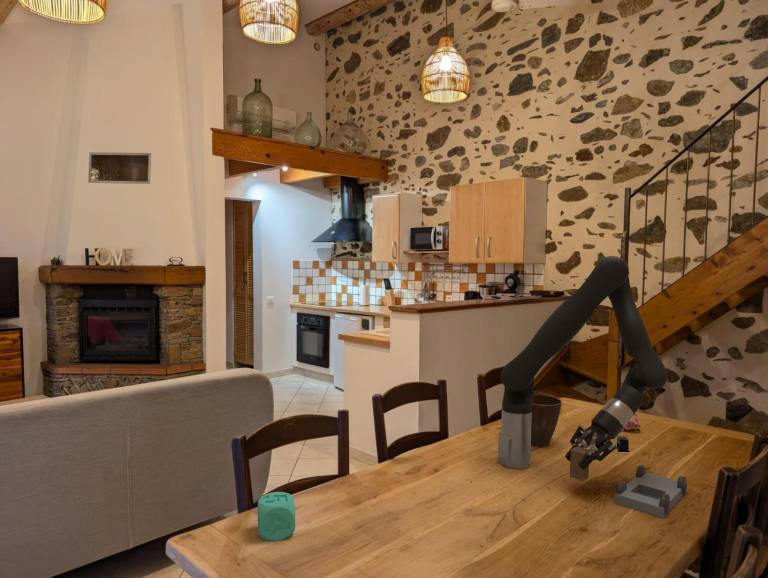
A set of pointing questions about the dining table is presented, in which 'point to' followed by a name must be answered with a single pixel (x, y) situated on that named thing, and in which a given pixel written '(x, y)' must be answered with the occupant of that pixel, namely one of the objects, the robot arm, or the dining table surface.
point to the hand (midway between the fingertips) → (574, 463)
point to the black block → (622, 444)
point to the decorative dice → (276, 516)
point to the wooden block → (575, 470)
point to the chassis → (650, 492)
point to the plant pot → (544, 419)
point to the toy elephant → (633, 423)
